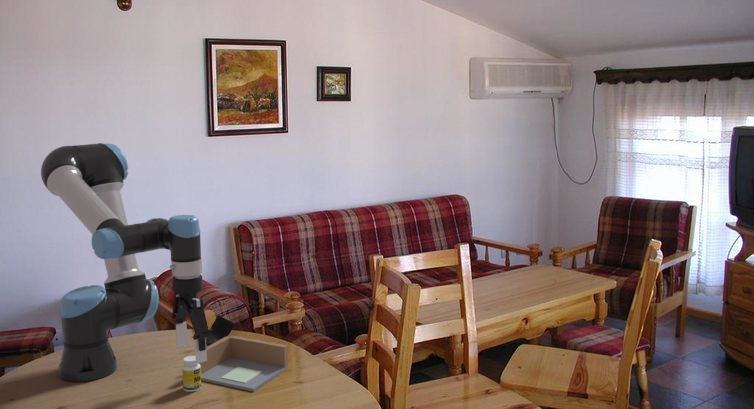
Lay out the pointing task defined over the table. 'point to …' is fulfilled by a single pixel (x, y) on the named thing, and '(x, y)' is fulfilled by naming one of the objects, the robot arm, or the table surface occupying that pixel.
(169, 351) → the table surface
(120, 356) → the table surface
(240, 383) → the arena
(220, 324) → the handheld gaming console
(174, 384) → the table surface
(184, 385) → the supplement bottle
